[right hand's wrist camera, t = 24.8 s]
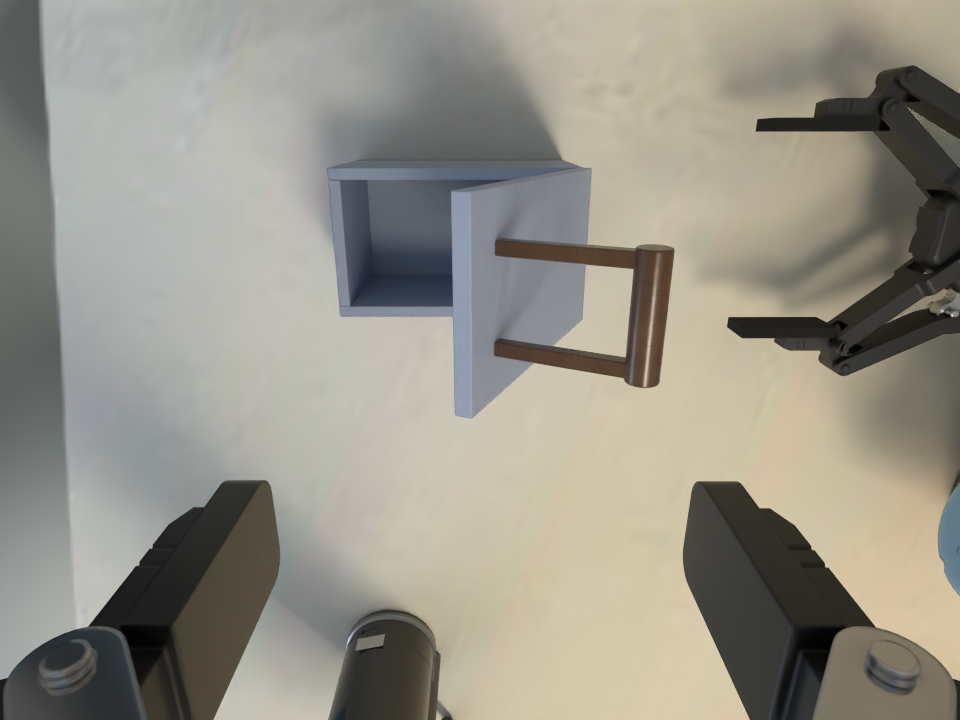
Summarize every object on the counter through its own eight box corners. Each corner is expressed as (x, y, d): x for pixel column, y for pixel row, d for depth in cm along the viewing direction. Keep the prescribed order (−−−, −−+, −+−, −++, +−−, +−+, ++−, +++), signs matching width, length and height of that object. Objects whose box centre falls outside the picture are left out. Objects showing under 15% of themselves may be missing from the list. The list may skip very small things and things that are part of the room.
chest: (366, 281, 50) (340, 316, 41) (358, 160, 47) (327, 167, 37) (557, 281, 50) (575, 316, 41) (562, 159, 47) (583, 167, 37)
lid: (454, 415, 27) (640, 456, 23) (450, 190, 23) (668, 200, 20) (569, 318, 41) (697, 335, 37) (578, 167, 37) (719, 171, 34)
